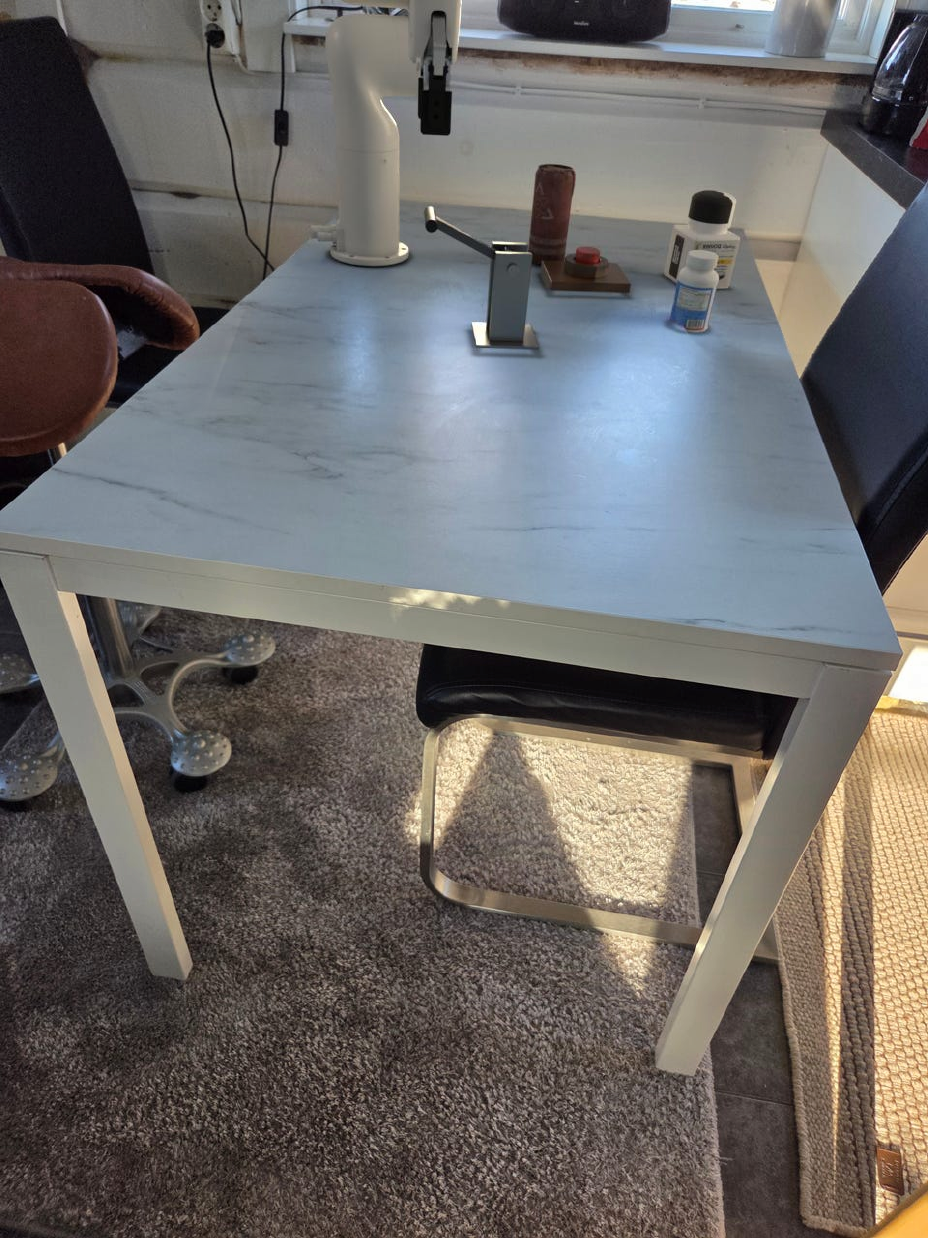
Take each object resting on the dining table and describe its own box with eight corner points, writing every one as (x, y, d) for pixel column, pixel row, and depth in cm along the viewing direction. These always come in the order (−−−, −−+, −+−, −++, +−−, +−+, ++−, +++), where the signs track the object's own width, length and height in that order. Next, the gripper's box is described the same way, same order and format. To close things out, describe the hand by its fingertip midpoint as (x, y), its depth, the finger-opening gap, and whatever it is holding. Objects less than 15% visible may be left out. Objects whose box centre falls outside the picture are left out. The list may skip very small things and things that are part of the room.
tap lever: (421, 233, 96) (430, 213, 95) (419, 219, 100) (428, 200, 99) (518, 285, 100) (528, 267, 99) (512, 270, 105) (522, 252, 104)
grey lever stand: (475, 354, 105) (482, 256, 97) (470, 330, 111) (476, 237, 103) (538, 356, 105) (549, 258, 98) (529, 332, 111) (539, 239, 104)
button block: (549, 296, 123) (553, 268, 121) (540, 274, 131) (543, 248, 128) (628, 298, 124) (633, 271, 122) (614, 277, 132) (618, 250, 129)
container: (684, 290, 129) (704, 199, 120) (662, 274, 134) (680, 186, 126) (728, 289, 130) (751, 199, 122) (705, 273, 136) (725, 186, 128)
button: (577, 265, 124) (578, 252, 123) (573, 257, 127) (574, 245, 125) (600, 266, 124) (602, 253, 123) (596, 258, 127) (597, 246, 126)
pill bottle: (679, 316, 119) (695, 245, 113) (713, 326, 117) (731, 254, 111) (661, 326, 116) (676, 253, 110) (695, 336, 114) (713, 262, 107)
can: (563, 269, 134) (575, 172, 125) (524, 264, 135) (534, 168, 126) (567, 258, 138) (579, 165, 130) (529, 254, 139) (539, 160, 130)
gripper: (399, -79, 87) (398, 111, 98) (401, -81, 74) (400, 140, 85) (470, -74, 88) (461, 115, 99) (485, -75, 74) (473, 143, 85)
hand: (433, 126), depth 92 cm, fingers open, 8 cm apart
